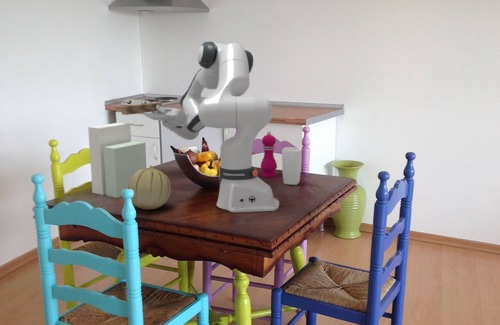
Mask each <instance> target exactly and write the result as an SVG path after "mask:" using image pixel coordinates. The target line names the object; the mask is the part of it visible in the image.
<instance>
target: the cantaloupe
mask: <svg viewBox="0 0 500 325" xmlns="http://www.w3.org/2000/svg"><path fill="white" fill-rule="evenodd" d="M128 189H132V190H133V191H134V197H133V198H132V201H131V202H132V204H134V205H135V206H136V207H138V208H140V209H142V210H148V211H149V210H155V209H159V208H160V207H162V206H163V205H165V204H166V202H167V201H168V200H169V197H170V195H171V190H172V187H171V182H170V179H169V177H168V176H167V175H166V174H165V173H164V172H163V171H161V170H159V169H157V168H155V167H154V166H152V165H149V167H146V168H144V169H140V170H138V171H137V172H136V173H135V174H134V175H133V176H132V177H131V179H130V181H129V184H128Z"/></svg>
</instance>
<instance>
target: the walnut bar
mask: <svg viewBox="0 0 500 325" xmlns="http://www.w3.org/2000/svg"><path fill="white" fill-rule="evenodd" d="M155 105H159V106H161V107H163V104H162V102H149V103H141V104H130V105H122V106H121V115H125V116H126V115H129V116H130V115H135V114H136V115H137V114H143V113H145V112H153V111H159V110H156V109H155V108H154V107H155Z"/></svg>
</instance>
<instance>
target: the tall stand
mask: <svg viewBox="0 0 500 325" xmlns="http://www.w3.org/2000/svg"><path fill="white" fill-rule="evenodd" d="M87 129H88V131H87V132H88V143H89V144H88V146H89V158H90V159H89V160H90V174H91V175H90V176H91V188H92V189H91V190H92V194H96V195H101V196H104V195H105V196H106V182H105V166H104V149H103V147H107V146H112V145H117V144H122V143H128V142H132V134H131V133H132V128H131V123H128V122H114V123H113V122H112V123H107V124H99V125H94V126H88V127H87Z"/></svg>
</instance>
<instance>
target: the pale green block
mask: <svg viewBox="0 0 500 325" xmlns="http://www.w3.org/2000/svg"><path fill="white" fill-rule="evenodd" d="M103 149H104V166H105V182H106V194H105V196H106V197H109V198H116V199H118V198H122V197H121V194H120V193H121V191H122V190H123V189H127V188H128V184H129V181H130V179H131V177H132V176H133V175H134V174H135V173H136V172H137V171H138V170H140V169H144V168H147V149H146V142H142V141H136V140H134V141H131V142H128V143H122V144H117V145H112V146H107V147H103Z"/></svg>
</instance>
